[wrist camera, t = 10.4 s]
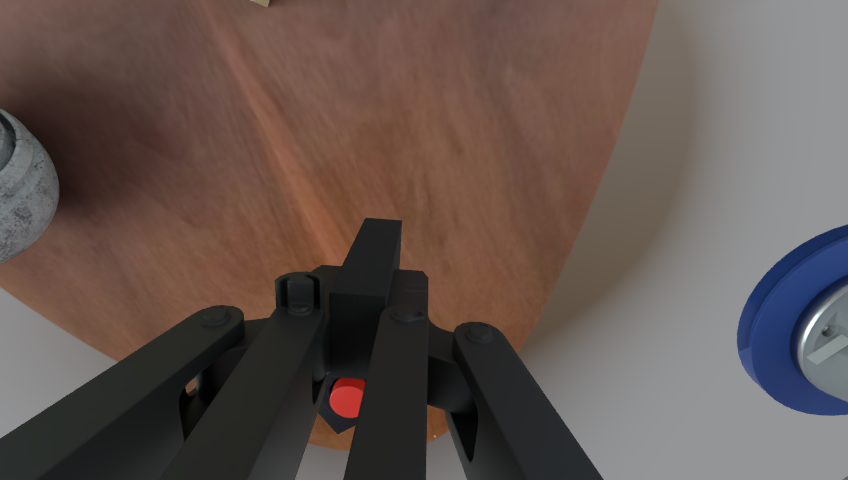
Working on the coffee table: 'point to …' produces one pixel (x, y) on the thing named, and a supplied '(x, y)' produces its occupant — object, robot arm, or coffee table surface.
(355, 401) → the button
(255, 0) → the door
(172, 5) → the coffee table surface
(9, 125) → the decorative orb
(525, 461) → the robot arm
